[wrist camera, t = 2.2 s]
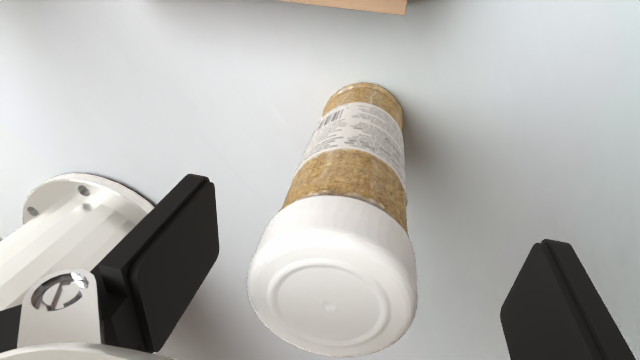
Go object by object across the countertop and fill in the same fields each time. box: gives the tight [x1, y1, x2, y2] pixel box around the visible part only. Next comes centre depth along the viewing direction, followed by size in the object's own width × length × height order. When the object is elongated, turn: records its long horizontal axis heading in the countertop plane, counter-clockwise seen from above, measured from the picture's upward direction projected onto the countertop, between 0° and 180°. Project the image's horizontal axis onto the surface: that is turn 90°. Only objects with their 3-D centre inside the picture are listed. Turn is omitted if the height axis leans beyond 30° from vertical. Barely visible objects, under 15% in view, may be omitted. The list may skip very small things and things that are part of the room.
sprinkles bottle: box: [247, 83, 418, 357], centre depth 15 cm, size 5×5×13 cm
